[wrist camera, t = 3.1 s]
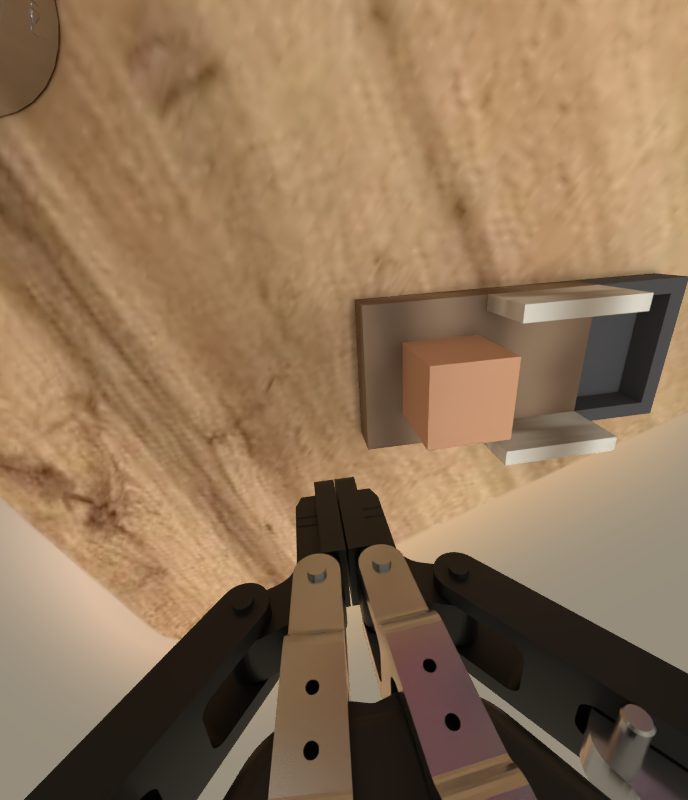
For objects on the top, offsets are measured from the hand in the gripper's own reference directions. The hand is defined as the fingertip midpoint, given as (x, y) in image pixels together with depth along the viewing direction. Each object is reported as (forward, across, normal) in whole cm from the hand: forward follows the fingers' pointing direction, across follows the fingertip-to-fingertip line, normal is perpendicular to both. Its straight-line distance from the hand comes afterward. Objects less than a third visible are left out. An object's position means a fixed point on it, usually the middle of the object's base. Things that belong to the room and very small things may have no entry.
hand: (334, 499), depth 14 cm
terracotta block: (+11, -8, 0) cm, 14 cm away
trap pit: (+14, -22, 0) cm, 26 cm away
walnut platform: (+14, -11, 0) cm, 18 cm away
